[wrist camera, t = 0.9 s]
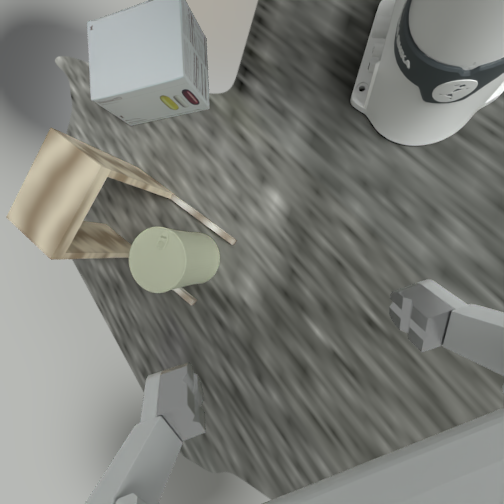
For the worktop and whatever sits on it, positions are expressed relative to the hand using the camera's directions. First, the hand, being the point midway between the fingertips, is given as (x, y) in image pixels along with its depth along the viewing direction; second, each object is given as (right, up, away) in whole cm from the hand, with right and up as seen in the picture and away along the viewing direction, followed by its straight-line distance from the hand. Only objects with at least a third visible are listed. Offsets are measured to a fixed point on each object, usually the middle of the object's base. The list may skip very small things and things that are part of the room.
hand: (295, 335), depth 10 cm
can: (-12, +2, +37) cm, 38 cm away
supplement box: (-17, +34, +39) cm, 54 cm away
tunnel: (-18, +7, +38) cm, 43 cm away
